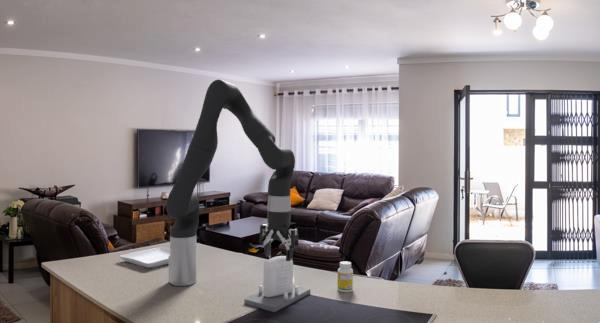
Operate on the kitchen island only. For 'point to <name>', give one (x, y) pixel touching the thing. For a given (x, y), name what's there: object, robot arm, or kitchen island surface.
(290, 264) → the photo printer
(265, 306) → the pin tray
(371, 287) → the kitchen island surface
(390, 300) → the kitchen island surface
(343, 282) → the supplement bottle
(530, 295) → the kitchen island surface
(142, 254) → the salad plate
